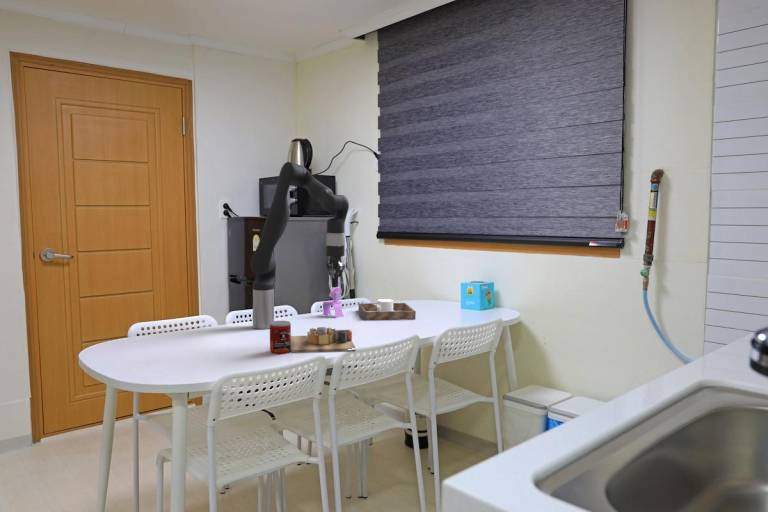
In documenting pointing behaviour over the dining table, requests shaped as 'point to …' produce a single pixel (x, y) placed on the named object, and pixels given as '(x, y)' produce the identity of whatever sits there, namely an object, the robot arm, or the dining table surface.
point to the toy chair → (334, 303)
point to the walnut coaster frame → (386, 312)
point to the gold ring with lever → (327, 336)
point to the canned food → (280, 337)
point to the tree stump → (384, 305)
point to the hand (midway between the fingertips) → (334, 287)
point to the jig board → (303, 346)
